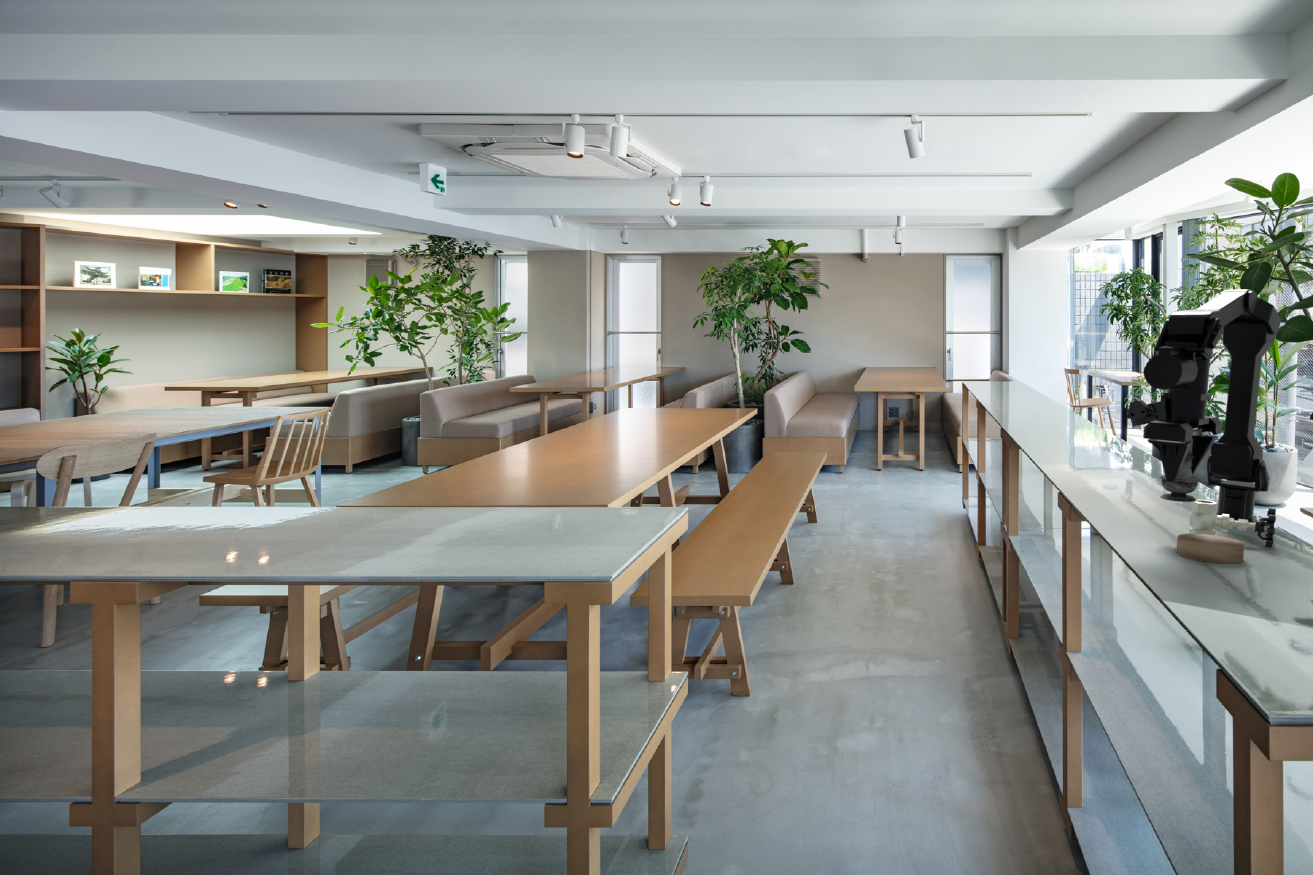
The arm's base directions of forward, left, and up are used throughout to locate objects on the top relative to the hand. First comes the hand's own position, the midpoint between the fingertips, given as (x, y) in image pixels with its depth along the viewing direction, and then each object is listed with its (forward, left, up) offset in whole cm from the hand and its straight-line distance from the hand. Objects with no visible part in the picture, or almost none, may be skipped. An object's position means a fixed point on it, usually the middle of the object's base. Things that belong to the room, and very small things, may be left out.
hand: (1179, 478), depth 143 cm
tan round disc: (+8, +6, -11) cm, 15 cm away
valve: (-5, +7, -11) cm, 14 cm away
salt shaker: (0, 0, -4) cm, 4 cm away
